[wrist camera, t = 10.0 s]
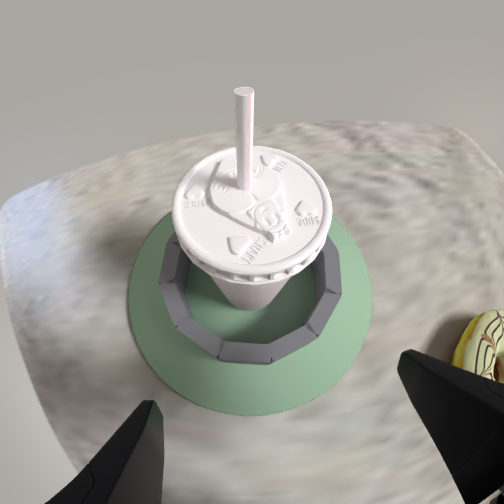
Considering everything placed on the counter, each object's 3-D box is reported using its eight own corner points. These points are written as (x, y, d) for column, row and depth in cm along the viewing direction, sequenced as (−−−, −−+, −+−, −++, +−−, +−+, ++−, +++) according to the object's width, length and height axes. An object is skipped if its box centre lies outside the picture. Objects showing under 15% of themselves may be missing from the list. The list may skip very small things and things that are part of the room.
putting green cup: (372, 410, 15) (395, 414, 12) (114, 393, 15) (90, 393, 12) (355, 196, 23) (368, 171, 20) (158, 185, 23) (149, 159, 20)
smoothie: (263, 231, 21) (279, 49, 8) (313, 299, 18) (414, 138, 6) (188, 271, 19) (116, 96, 7) (234, 348, 17) (193, 243, 4)
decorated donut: (475, 447, 12) (502, 449, 9) (420, 390, 16) (450, 388, 12) (516, 360, 15) (541, 352, 12) (470, 297, 19) (496, 282, 16)
